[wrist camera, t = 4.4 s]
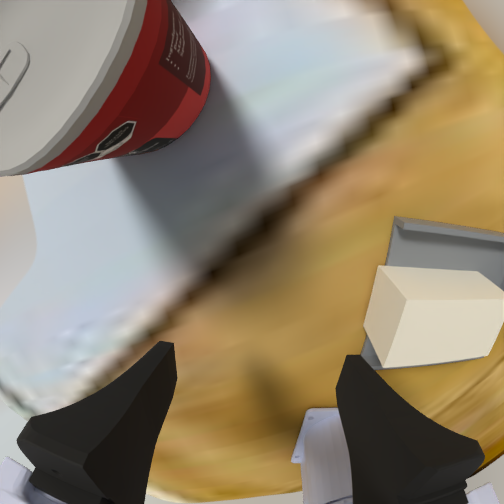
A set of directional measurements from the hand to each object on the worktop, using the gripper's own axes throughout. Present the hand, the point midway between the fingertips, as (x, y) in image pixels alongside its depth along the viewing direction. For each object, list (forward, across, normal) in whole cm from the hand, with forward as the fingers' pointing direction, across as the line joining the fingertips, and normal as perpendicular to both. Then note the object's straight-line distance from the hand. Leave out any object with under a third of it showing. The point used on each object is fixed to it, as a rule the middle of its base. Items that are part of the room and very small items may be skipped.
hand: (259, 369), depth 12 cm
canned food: (+8, +7, -12) cm, 16 cm away
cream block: (+5, -7, 0) cm, 9 cm away
